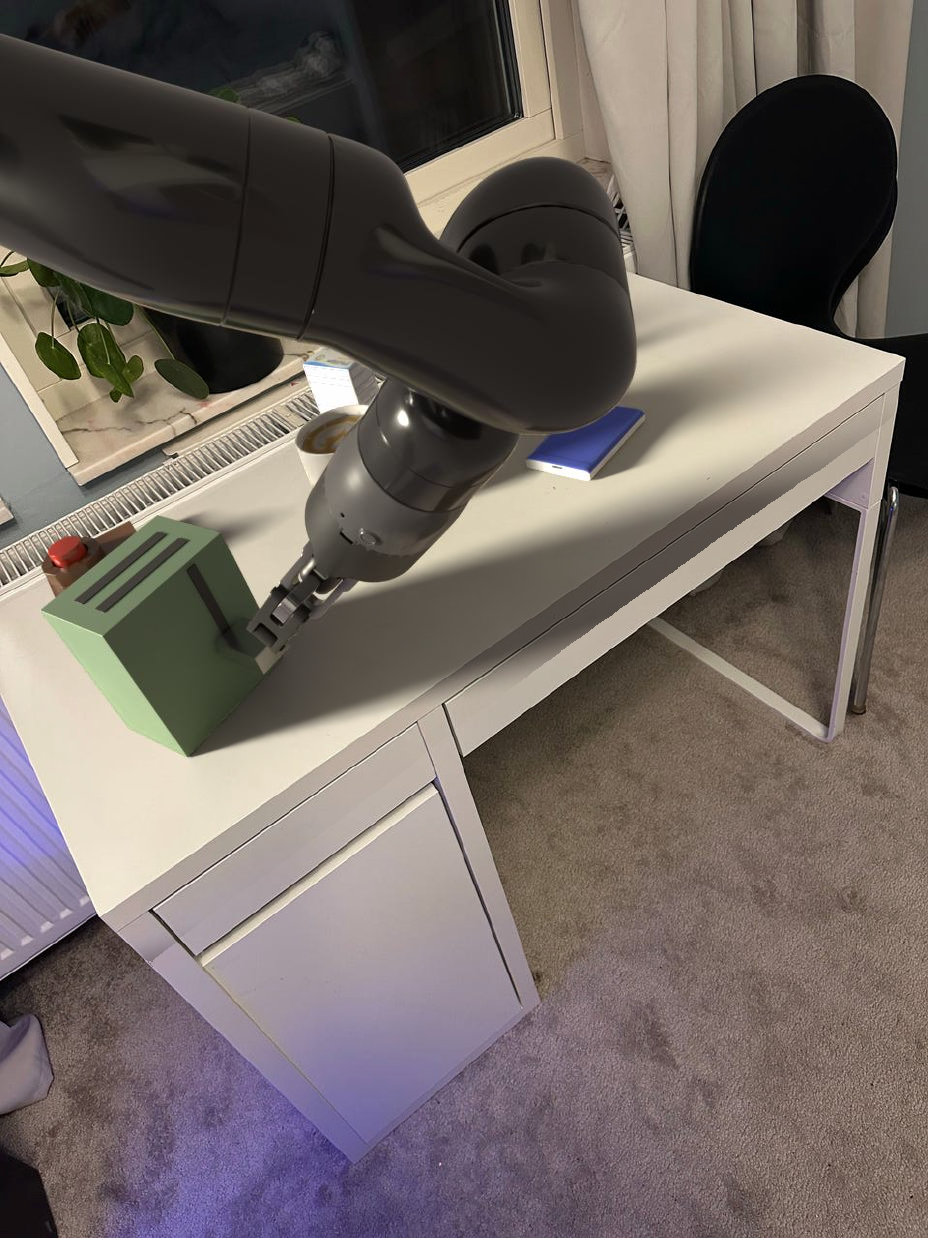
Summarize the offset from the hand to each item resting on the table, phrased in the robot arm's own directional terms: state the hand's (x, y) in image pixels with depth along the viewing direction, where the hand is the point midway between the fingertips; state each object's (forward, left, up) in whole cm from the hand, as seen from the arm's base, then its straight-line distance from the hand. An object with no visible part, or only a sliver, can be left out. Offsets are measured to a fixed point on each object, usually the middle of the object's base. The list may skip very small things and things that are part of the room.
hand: (309, 597), depth 61 cm
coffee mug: (+17, +30, -15) cm, 38 cm away
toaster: (-10, +15, -15) cm, 24 cm away
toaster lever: (-4, +10, -10) cm, 14 cm away
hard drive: (+39, +19, -15) cm, 46 cm away
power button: (-15, +43, -12) cm, 47 cm away
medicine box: (+24, +49, -15) cm, 57 cm away
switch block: (-13, +43, -15) cm, 47 cm away
